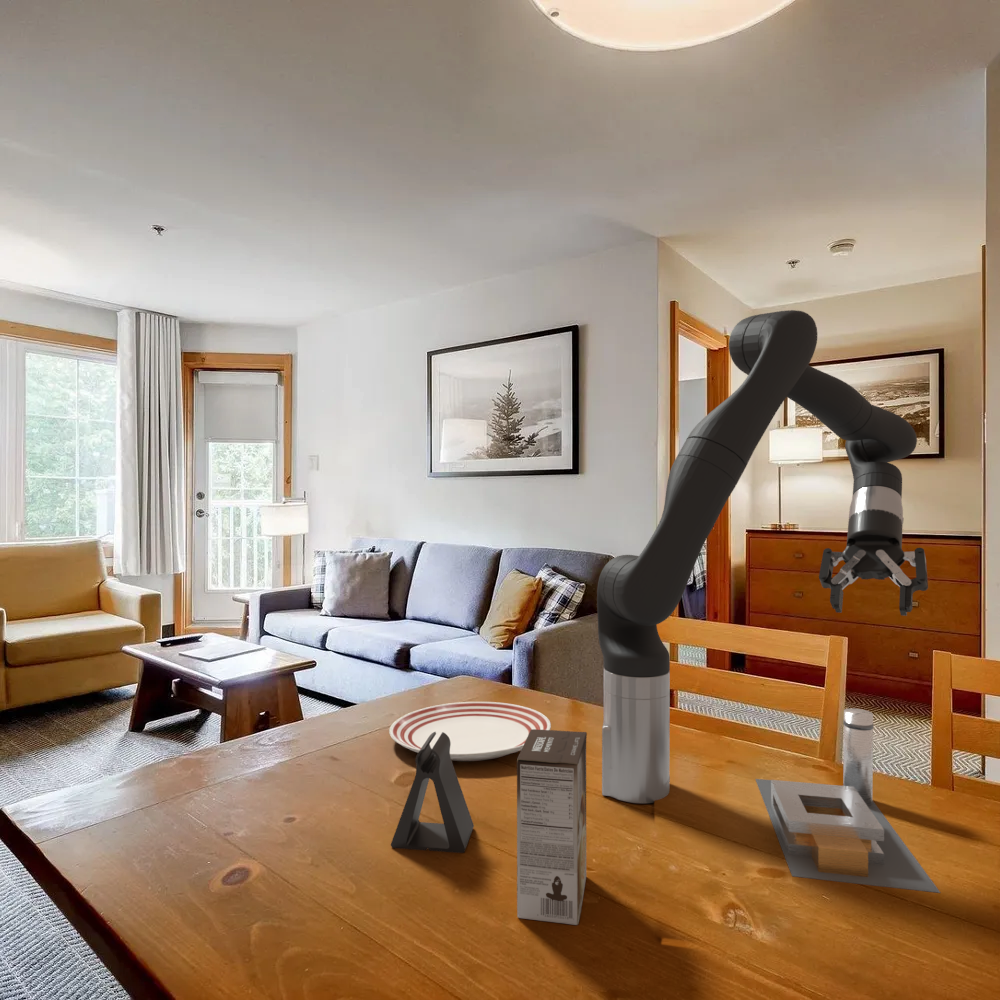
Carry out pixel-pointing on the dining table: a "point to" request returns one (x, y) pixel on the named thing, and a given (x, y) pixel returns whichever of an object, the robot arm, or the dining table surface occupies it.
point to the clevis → (827, 826)
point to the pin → (858, 752)
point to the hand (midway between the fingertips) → (869, 611)
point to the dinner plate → (470, 728)
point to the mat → (894, 872)
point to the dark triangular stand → (450, 801)
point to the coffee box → (551, 826)
